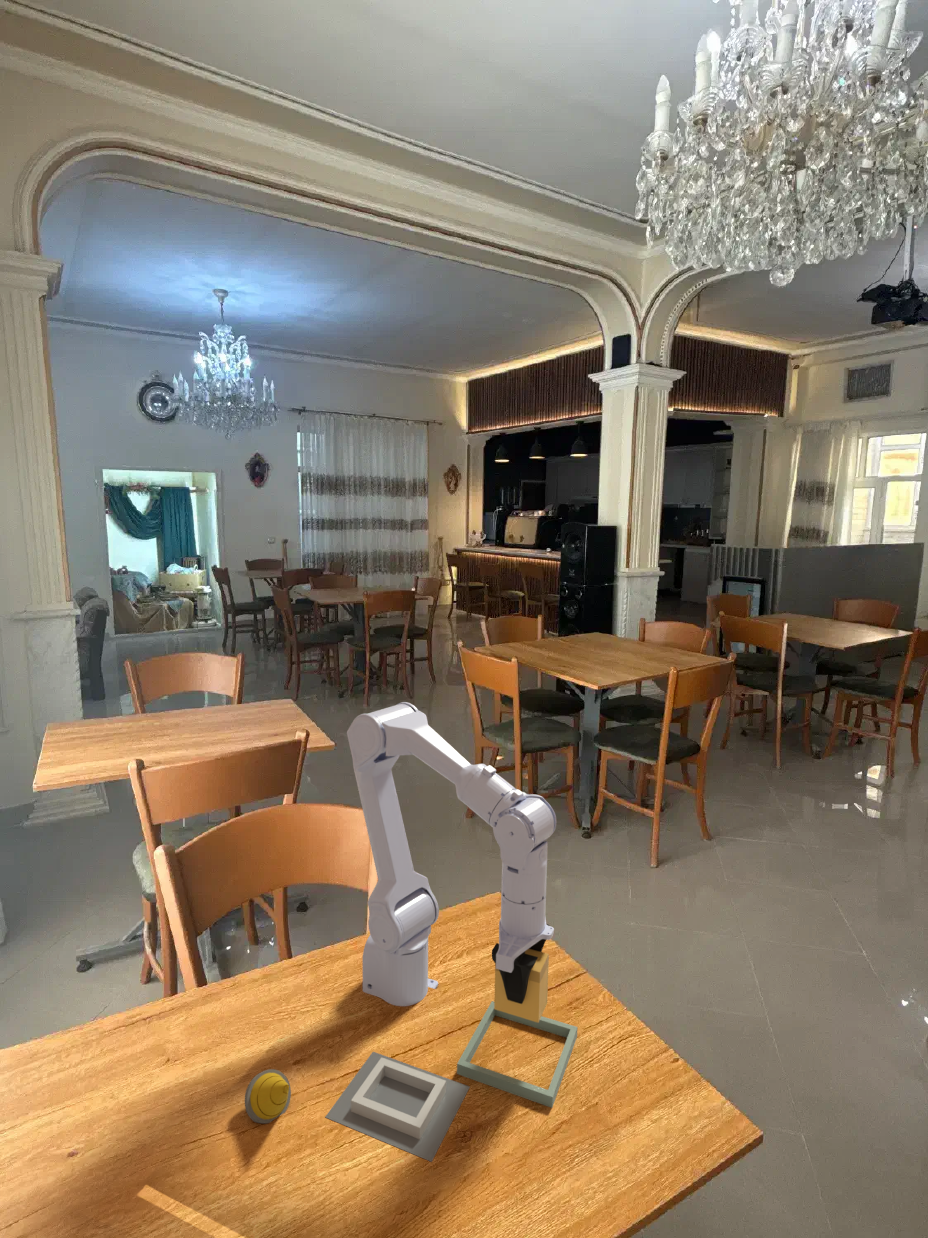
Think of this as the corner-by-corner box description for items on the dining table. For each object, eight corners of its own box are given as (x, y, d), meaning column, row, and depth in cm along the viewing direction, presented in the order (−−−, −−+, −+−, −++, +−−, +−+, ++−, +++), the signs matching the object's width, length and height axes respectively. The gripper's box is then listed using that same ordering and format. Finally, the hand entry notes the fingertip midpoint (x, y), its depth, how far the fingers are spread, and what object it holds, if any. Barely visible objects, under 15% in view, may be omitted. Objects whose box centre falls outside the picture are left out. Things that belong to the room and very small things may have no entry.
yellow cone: (287, 1089, 85) (318, 1073, 79) (264, 1137, 81) (296, 1124, 75) (252, 1066, 85) (281, 1049, 79) (227, 1113, 81) (256, 1099, 75)
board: (325, 1123, 80) (324, 1106, 80) (372, 1057, 90) (372, 1041, 90) (431, 1168, 75) (431, 1149, 74) (469, 1092, 85) (470, 1076, 84)
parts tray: (456, 1079, 87) (457, 1064, 86) (491, 1015, 98) (491, 1001, 98) (552, 1113, 82) (552, 1097, 81) (577, 1041, 93) (577, 1027, 93)
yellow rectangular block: (494, 1009, 88) (495, 960, 87) (504, 990, 92) (505, 942, 91) (538, 1023, 86) (540, 972, 85) (547, 1002, 89) (548, 954, 89)
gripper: (537, 930, 78) (533, 1036, 80) (568, 872, 92) (565, 964, 94) (480, 916, 81) (478, 1018, 83) (518, 862, 94) (516, 951, 96)
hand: (521, 989), depth 88 cm, fingers closed on yellow rectangular block, 4 cm apart
